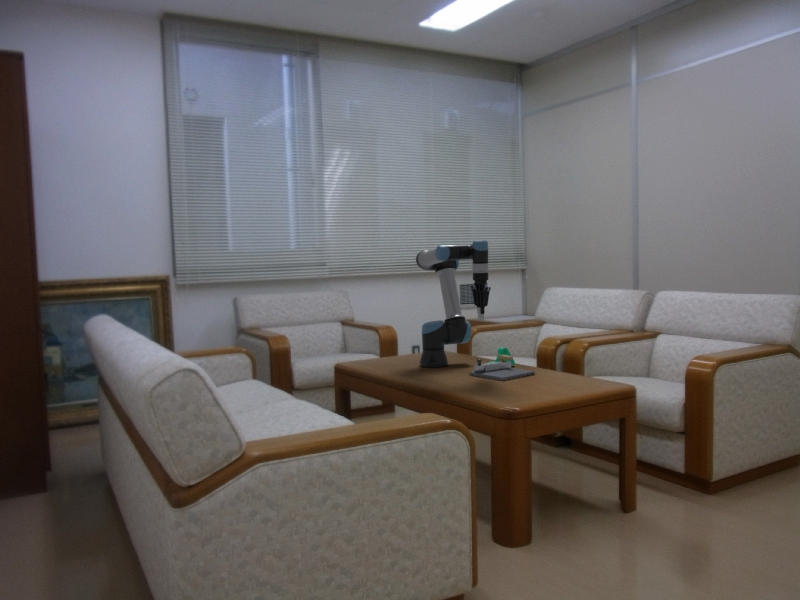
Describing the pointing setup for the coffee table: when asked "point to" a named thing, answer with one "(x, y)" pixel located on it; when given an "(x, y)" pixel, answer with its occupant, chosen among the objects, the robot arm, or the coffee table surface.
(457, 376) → the coffee table surface
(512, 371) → the plate
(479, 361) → the link
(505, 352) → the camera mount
